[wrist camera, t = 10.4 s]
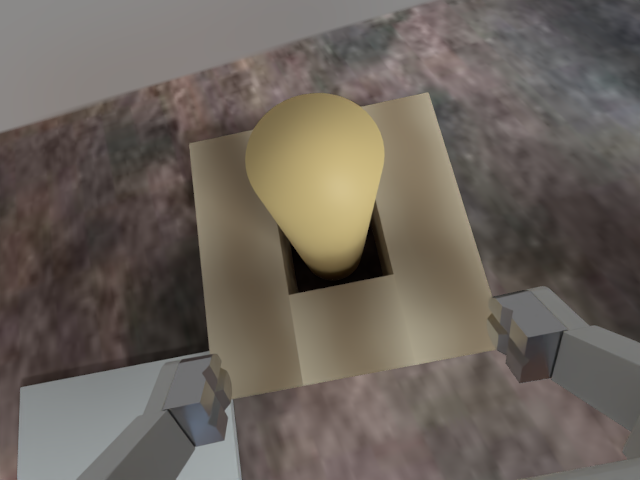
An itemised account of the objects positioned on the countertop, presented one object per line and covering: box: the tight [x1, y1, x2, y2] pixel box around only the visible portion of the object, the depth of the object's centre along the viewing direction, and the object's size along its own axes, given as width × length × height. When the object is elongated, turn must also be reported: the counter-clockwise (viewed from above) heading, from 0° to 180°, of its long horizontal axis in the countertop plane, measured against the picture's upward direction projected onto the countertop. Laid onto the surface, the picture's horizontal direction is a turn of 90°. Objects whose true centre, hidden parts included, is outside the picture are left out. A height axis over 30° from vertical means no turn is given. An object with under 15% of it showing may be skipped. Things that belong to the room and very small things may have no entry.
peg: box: [245, 93, 385, 281], centre depth 13 cm, size 3×3×11 cm
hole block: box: [189, 93, 496, 399], centre depth 17 cm, size 12×12×4 cm
